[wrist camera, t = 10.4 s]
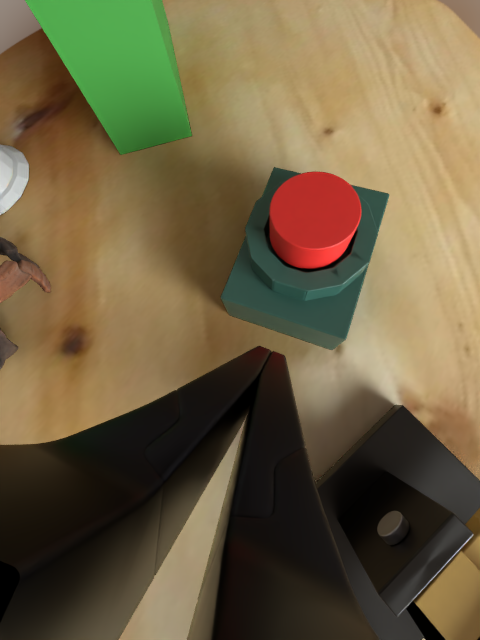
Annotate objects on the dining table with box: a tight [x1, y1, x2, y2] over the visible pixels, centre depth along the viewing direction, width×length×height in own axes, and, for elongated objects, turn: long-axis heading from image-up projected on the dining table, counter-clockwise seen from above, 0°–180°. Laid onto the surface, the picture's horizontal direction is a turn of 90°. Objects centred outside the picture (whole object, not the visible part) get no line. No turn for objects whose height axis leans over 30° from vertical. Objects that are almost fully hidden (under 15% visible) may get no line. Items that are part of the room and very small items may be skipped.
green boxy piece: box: [221, 167, 389, 350], centre depth 21 cm, size 11×8×6 cm
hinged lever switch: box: [315, 405, 480, 640], centre depth 15 cm, size 12×9×8 cm
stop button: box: [269, 172, 361, 269], centre depth 17 cm, size 5×5×2 cm
